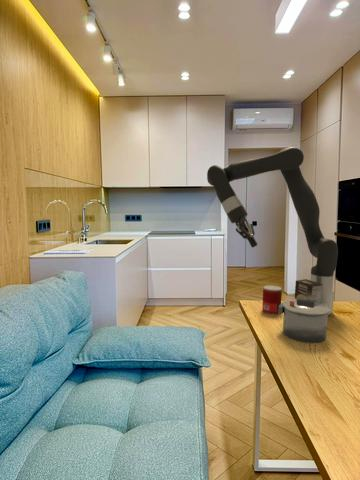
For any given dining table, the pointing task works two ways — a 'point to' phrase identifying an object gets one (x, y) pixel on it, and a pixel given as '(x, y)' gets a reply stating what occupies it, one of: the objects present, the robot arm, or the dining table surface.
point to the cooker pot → (304, 326)
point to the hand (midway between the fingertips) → (255, 246)
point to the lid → (306, 306)
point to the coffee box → (308, 290)
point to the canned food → (271, 299)
